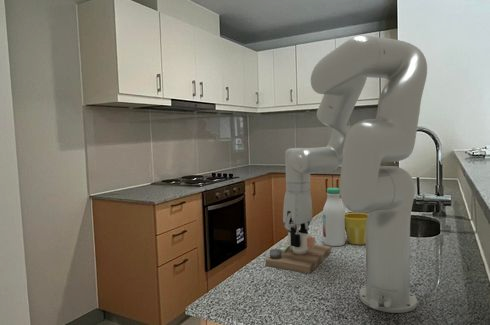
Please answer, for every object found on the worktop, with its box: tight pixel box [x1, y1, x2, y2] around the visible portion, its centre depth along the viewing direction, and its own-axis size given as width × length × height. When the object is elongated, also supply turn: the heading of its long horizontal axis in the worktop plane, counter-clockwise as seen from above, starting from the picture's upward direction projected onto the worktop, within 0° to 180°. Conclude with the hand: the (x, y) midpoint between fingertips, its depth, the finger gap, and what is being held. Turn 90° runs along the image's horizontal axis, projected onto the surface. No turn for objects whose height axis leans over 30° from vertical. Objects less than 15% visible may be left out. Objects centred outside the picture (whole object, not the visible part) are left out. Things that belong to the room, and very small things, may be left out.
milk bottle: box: [322, 187, 346, 247], centre depth 126 cm, size 8×8×20 cm
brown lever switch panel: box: [265, 243, 332, 274], centre depth 112 cm, size 20×14×4 cm
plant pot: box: [345, 212, 369, 246], centre depth 127 cm, size 10×10×10 cm
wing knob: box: [287, 232, 316, 255], centre depth 112 cm, size 9×4×6 cm, turn 47°
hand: (299, 243), depth 112 cm, fingers open, 3 cm apart
